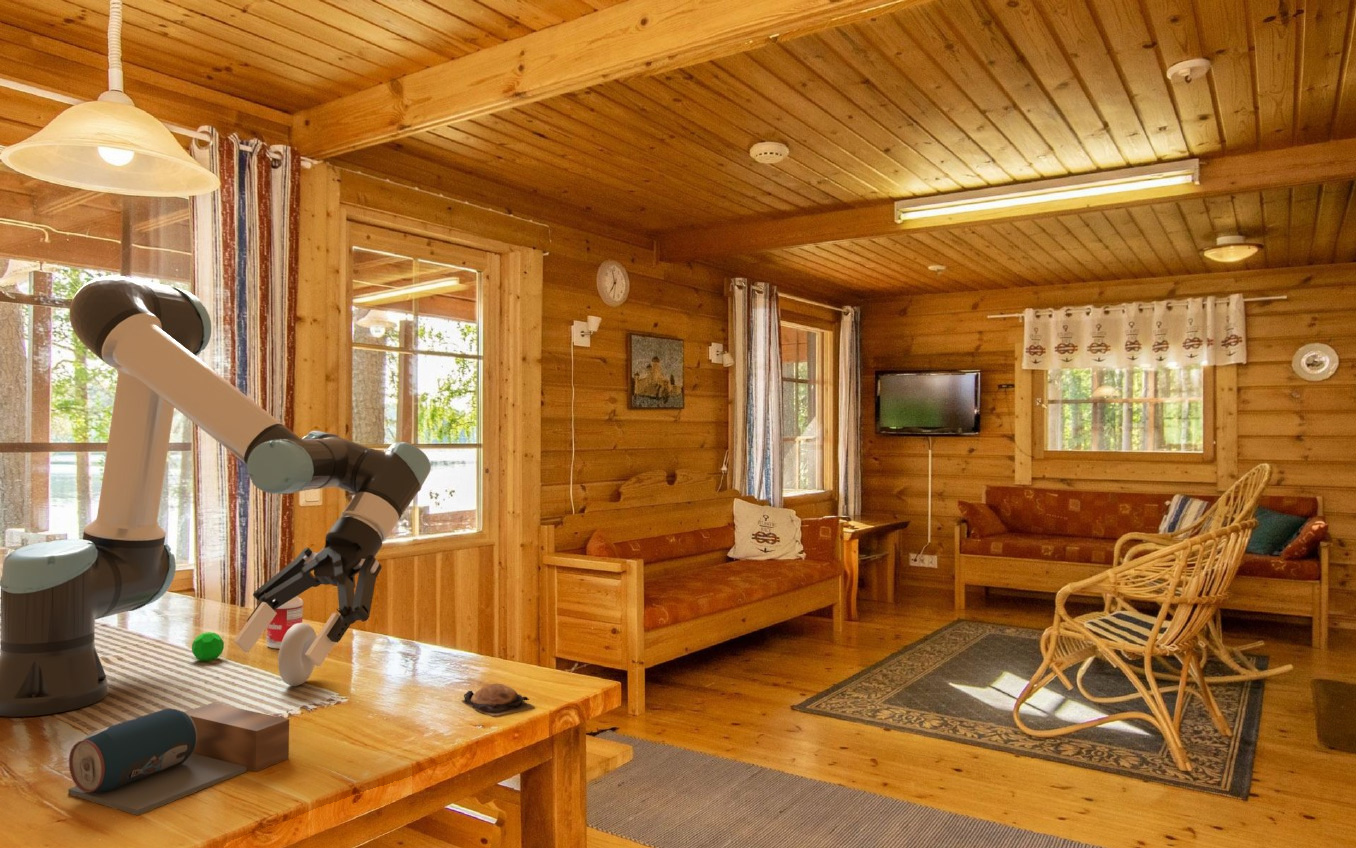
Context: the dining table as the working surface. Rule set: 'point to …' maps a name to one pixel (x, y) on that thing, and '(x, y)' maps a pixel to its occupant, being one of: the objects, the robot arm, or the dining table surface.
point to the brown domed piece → (496, 700)
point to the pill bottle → (284, 621)
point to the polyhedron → (207, 646)
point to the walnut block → (240, 736)
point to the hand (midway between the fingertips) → (275, 653)
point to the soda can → (132, 750)
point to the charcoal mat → (164, 785)
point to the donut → (296, 654)
